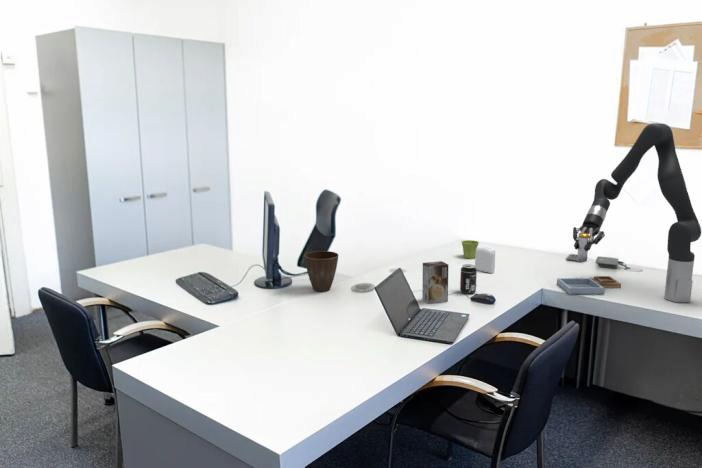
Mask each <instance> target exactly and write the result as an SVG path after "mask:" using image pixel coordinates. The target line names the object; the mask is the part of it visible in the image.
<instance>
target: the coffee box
mask: <svg viewBox="0 0 702 468" xmlns="http://www.w3.org/2000/svg"><path fill="white" fill-rule="evenodd" d="M421 290H422V291H421V292H422V296H421V297H422V298H421V299H422V300H423V301H424V302H426V303H427V304H437V303H446V302H447V303H448V301H449V264H448V263H446V262H444V261H442V260H441V261H429V262H422V289H421Z"/></svg>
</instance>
